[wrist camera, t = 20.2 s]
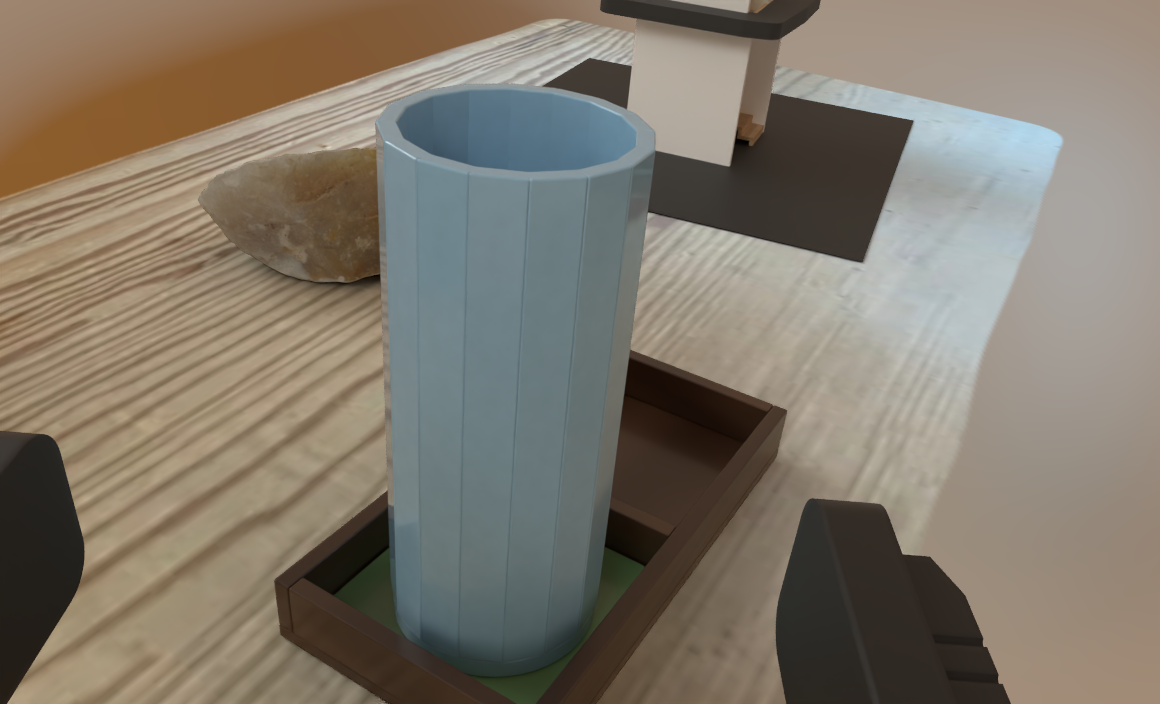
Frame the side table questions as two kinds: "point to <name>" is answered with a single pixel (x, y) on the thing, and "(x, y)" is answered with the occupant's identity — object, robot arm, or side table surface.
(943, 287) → the side table surface
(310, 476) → the side table surface
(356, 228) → the stone
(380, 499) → the tray
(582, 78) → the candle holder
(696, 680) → the side table surface
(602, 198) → the cup
